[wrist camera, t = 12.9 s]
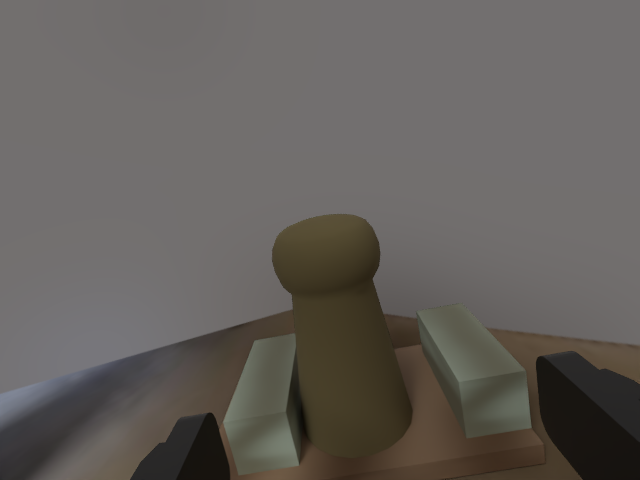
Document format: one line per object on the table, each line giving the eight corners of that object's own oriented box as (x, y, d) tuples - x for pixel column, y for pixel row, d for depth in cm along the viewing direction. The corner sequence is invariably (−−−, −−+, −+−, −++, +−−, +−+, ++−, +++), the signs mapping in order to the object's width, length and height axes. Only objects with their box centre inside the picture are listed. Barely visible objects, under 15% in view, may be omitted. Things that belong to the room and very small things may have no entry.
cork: (298, 391, 23) (258, 221, 20) (391, 368, 24) (364, 198, 21) (308, 472, 17) (254, 249, 14) (432, 438, 18) (402, 217, 15)
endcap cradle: (197, 517, 17) (173, 445, 16) (243, 388, 27) (229, 338, 26) (545, 463, 16) (538, 383, 16) (463, 349, 26) (456, 297, 25)
